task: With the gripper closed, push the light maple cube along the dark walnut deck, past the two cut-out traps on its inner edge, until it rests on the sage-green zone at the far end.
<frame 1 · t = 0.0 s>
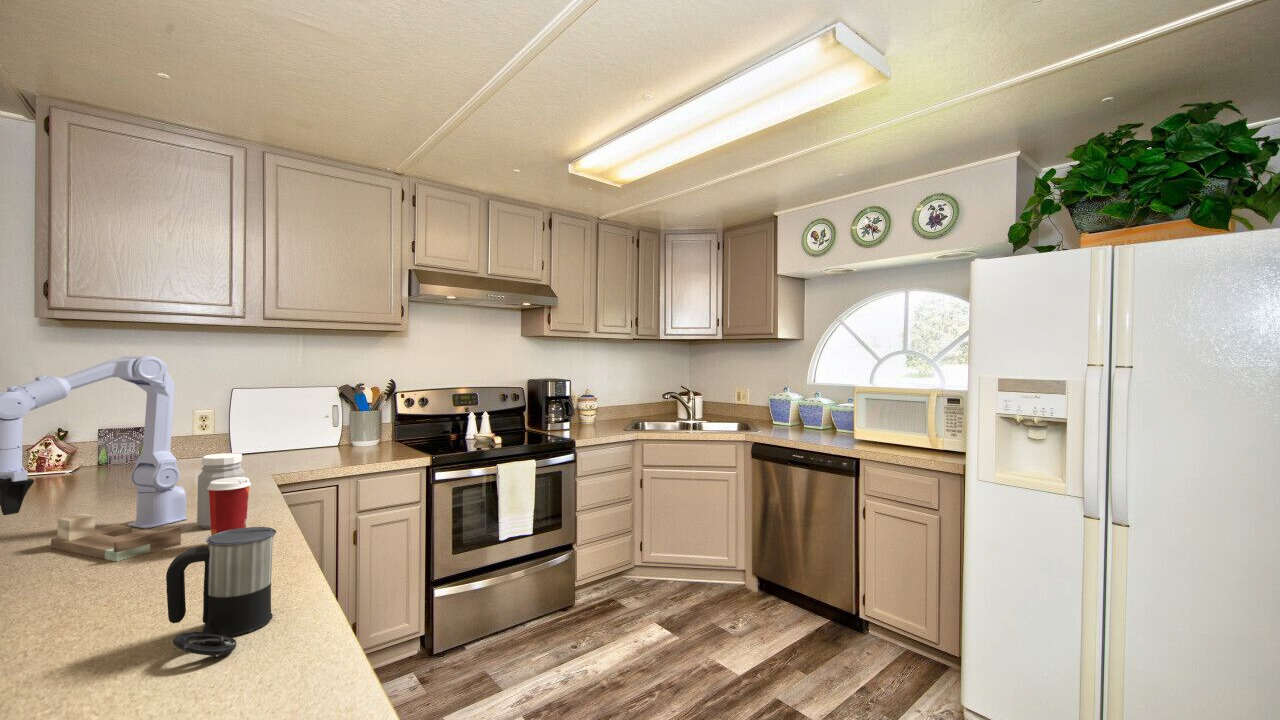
hand: (1, 512, 115), 10 cm above the counter, tool pointing down, fingers open, 7 cm apart
coffee cup: (228, 545, 126), on the counter
block: (76, 536, 124), point 2 cm above the counter, touching deck
milk frother: (227, 638, 84), on the counter
jar: (221, 524, 142), on the counter
deck: (116, 546, 124), on the counter
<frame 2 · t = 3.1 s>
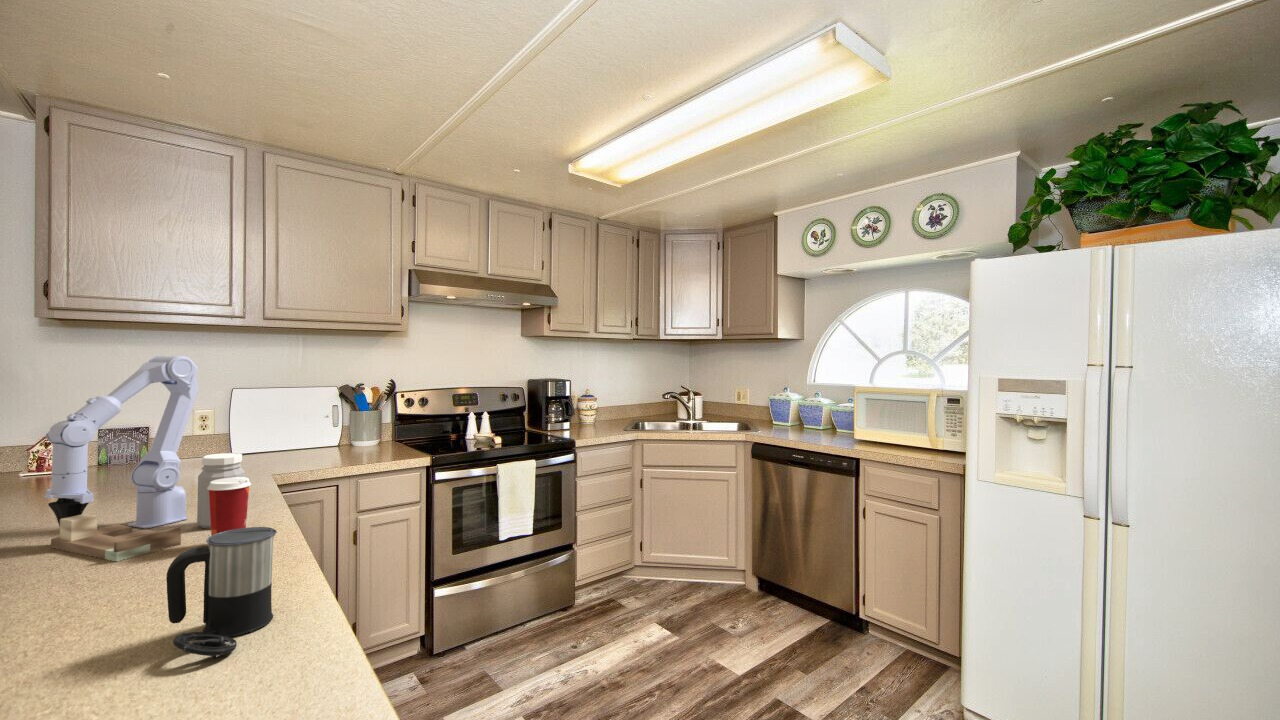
hand: (68, 531, 125), 3 cm above the counter, tool pointing down, fingers closed
block: (78, 537, 124), point 2 cm above the counter, touching gripper
everything else where it was.
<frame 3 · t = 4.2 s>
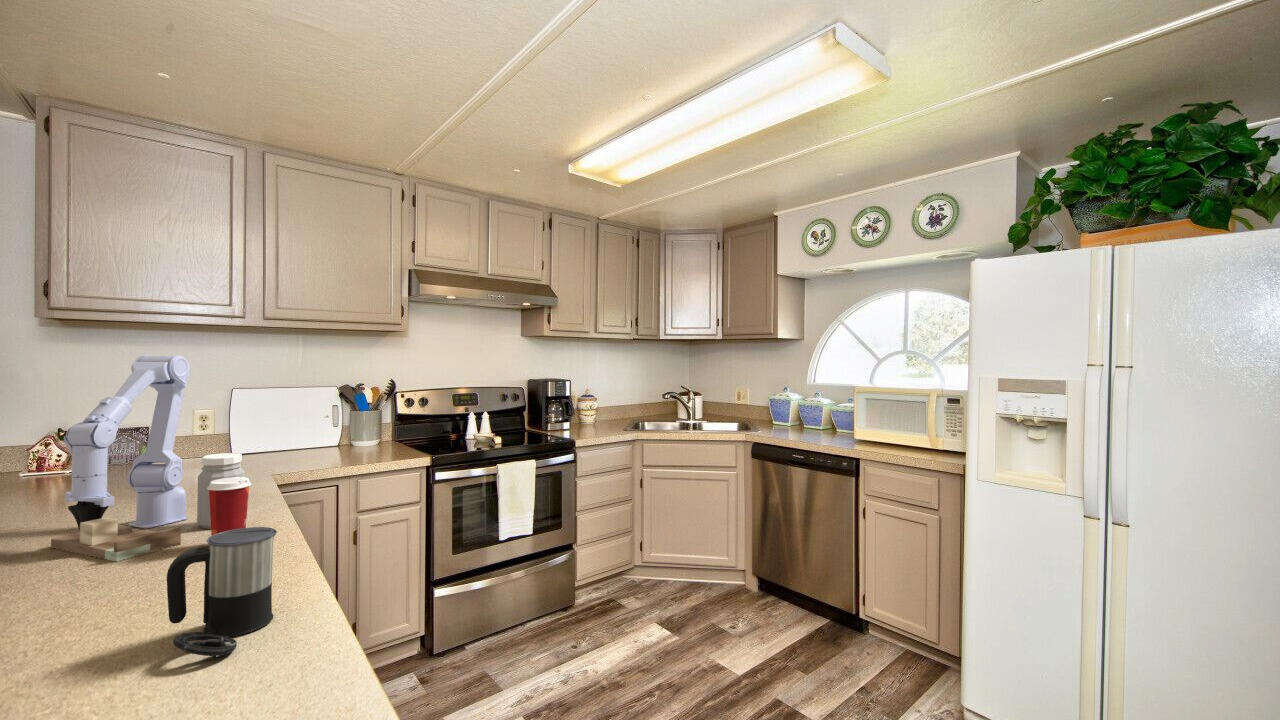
hand: (88, 534, 123), 3 cm above the counter, tool pointing down, fingers closed
block: (98, 541, 122), point 2 cm above the counter, touching deck, gripper
everything else where it was.
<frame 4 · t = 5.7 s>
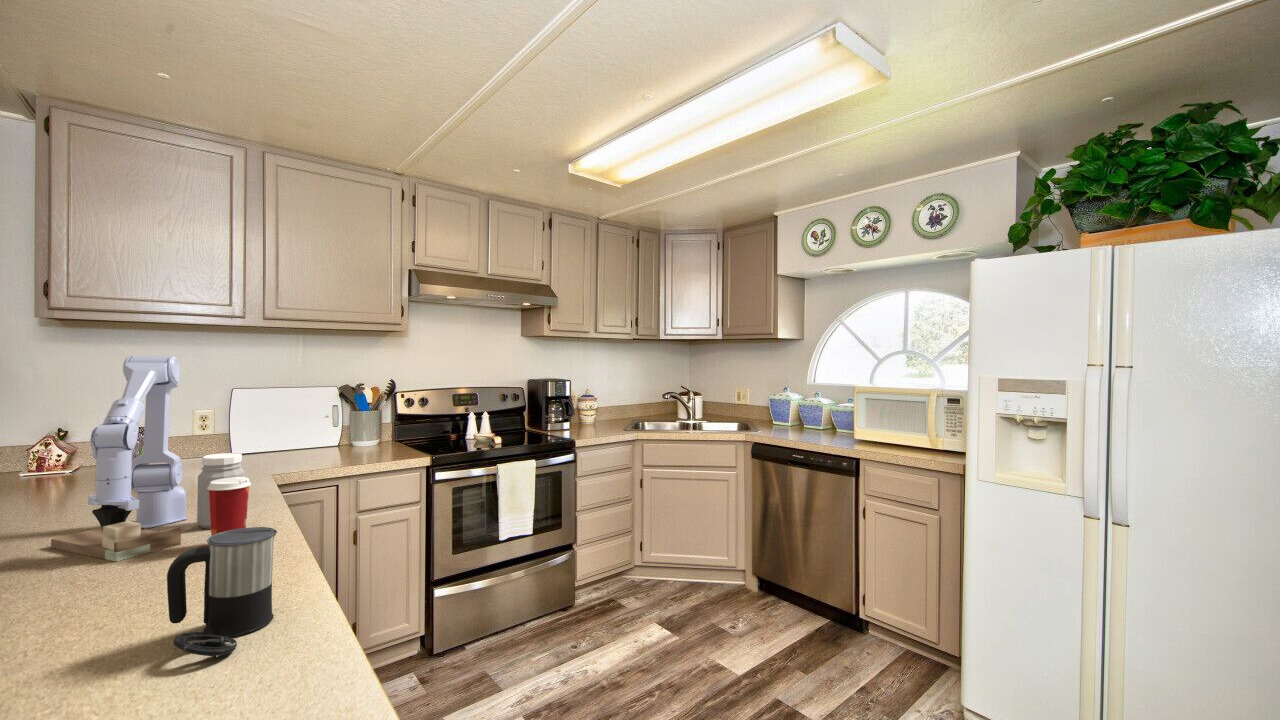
hand: (112, 539, 120), 3 cm above the counter, tool pointing down, fingers closed, pressing on block
block: (121, 545, 119), point 2 cm above the counter, touching gripper
everything else where it was.
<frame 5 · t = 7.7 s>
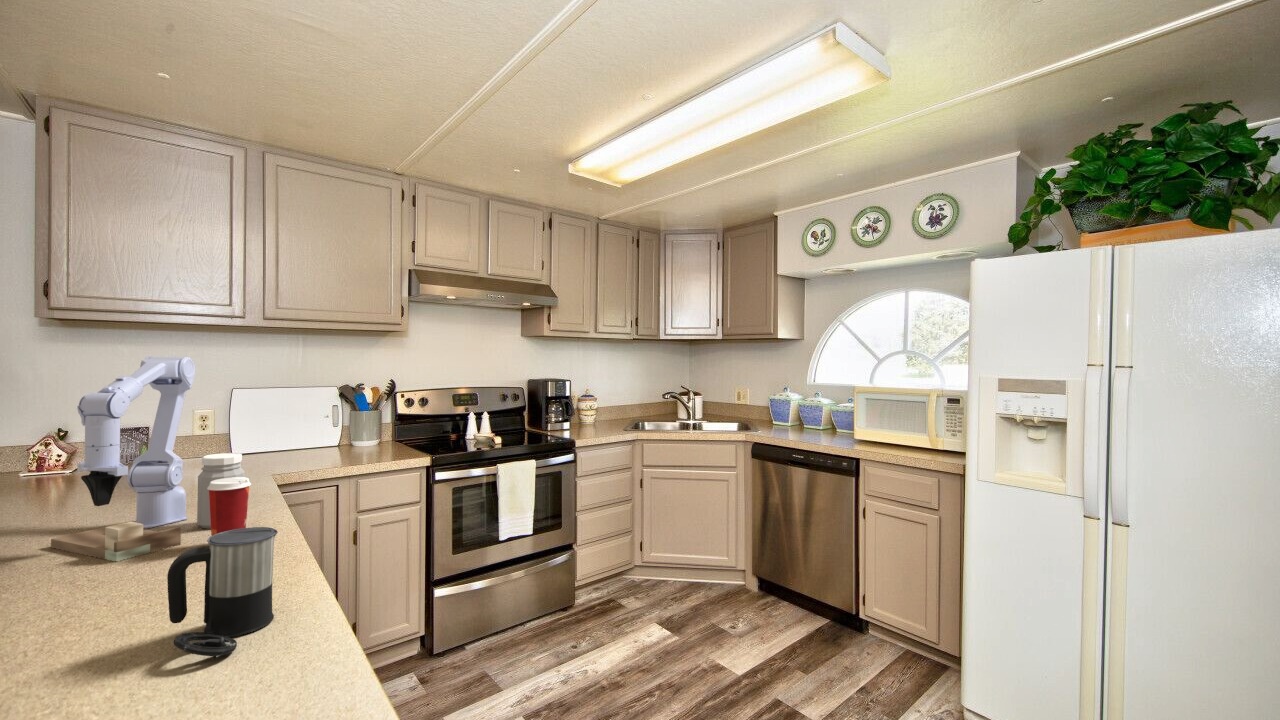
hand: (101, 504, 123), 10 cm above the counter, tool pointing down, fingers closed
block: (124, 546, 119), point 2 cm above the counter, touching deck
everything else where it was.
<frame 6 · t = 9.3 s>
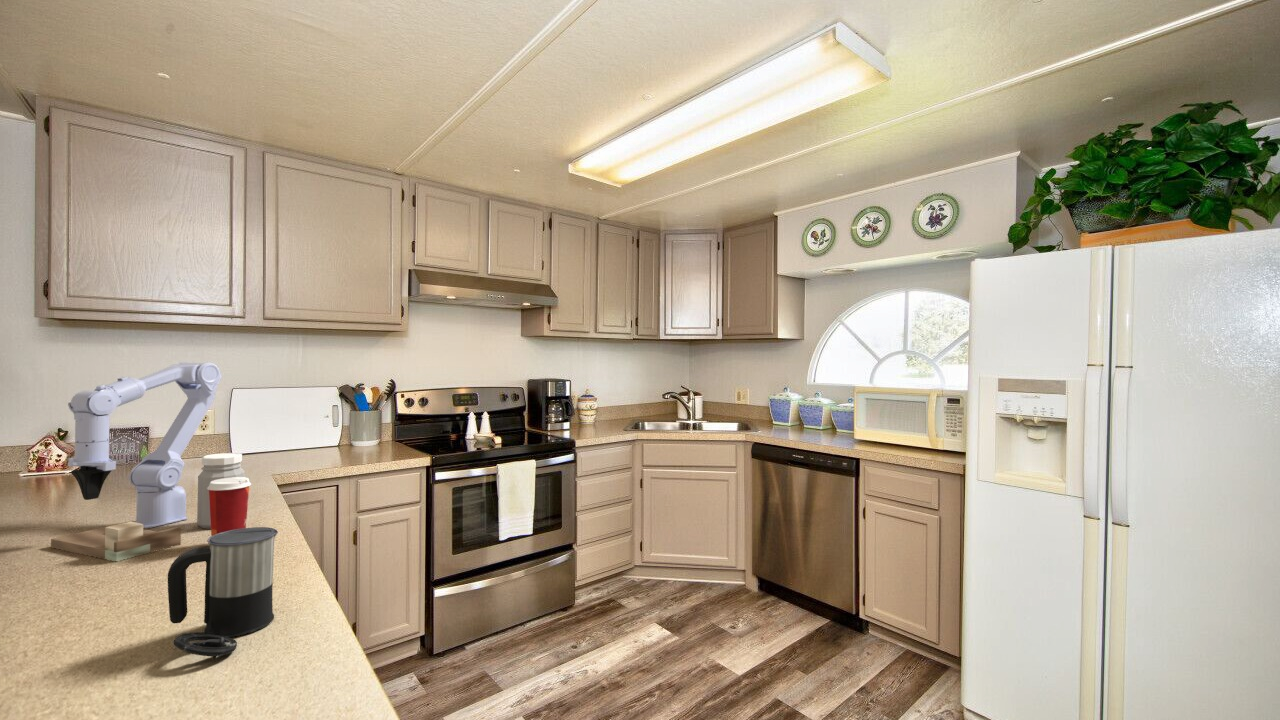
hand: (91, 498, 128), 10 cm above the counter, tool pointing down, fingers closed
nothing on the counter moved.
at the end: block 0.1 cm from the target spot, point 2.0 cm above the counter; block tilted 0° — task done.
